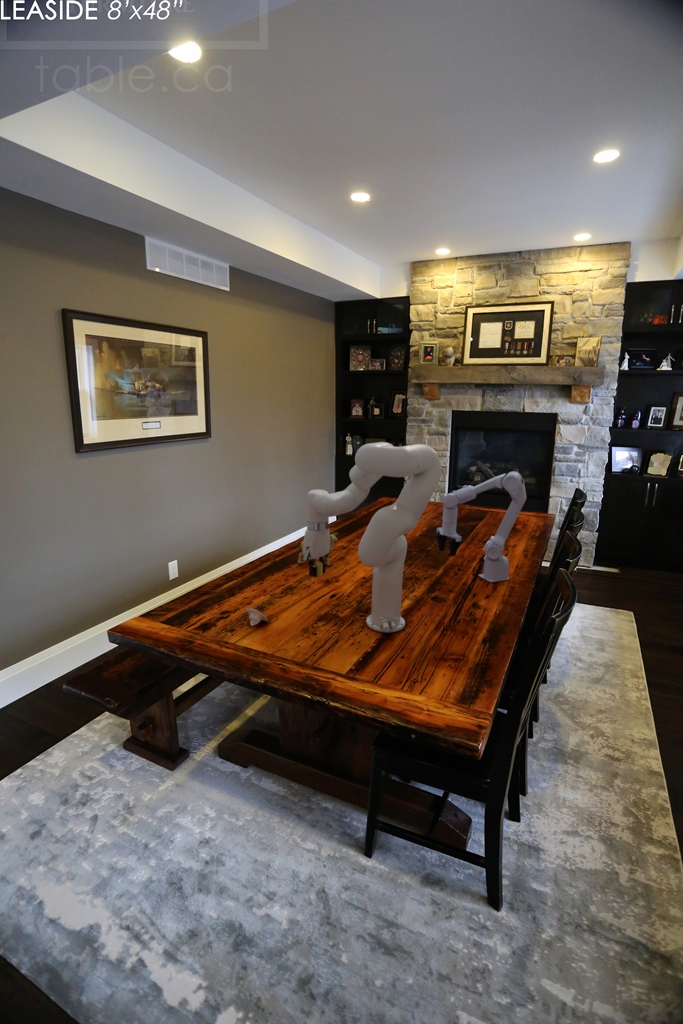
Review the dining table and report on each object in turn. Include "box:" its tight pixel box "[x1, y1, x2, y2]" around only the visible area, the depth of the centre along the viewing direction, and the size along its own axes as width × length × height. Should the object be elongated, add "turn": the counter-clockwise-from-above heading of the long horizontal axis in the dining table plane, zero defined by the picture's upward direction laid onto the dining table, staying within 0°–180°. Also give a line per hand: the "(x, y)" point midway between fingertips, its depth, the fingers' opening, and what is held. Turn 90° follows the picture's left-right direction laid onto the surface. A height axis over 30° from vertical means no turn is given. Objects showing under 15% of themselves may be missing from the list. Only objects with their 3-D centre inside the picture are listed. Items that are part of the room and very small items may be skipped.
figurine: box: [482, 535, 495, 561], centre depth 223 cm, size 8×8×12 cm
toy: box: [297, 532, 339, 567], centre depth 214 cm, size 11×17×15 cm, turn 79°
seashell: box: [245, 607, 269, 627], centre depth 160 cm, size 8×5×8 cm
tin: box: [316, 561, 323, 578], centre depth 178 cm, size 4×4×4 cm
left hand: (317, 574), depth 179 cm, fingers closed on tin, 3 cm apart
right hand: (447, 553), depth 210 cm, fingers open, 7 cm apart
